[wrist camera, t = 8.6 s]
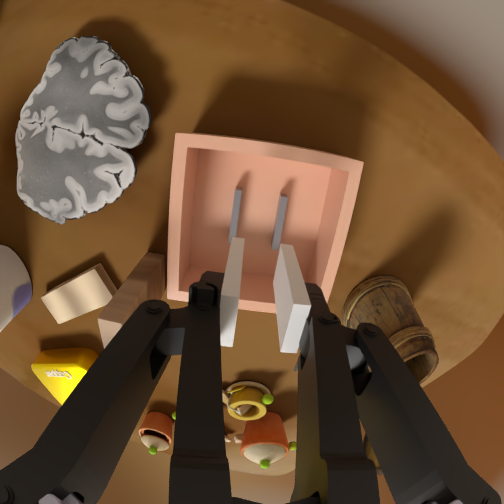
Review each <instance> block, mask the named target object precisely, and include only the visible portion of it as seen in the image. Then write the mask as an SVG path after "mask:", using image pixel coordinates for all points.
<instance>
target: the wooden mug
mask: <svg viewBox="0 0 504 504" xmlns="http://www.w3.org/2000/svg"><path fill="white" fill-rule="evenodd" d="M342 321H343V324H344V326H345V327H349V328H352V329H357V326H358V325H359V324H360V323H364V322H366V323H372V324H375V325H376V326H378V327H379V328H380V329H381V330H382V331H383V332H384V333H385V335H386V336H387V338H388V339H389V340H390V342H391V343H392V345H393V346H394V348H395V349H396V350H397V352H398V353H399V355H400V356H401V358H402V359H403V361H404V362H405V364H406V365H407V367H408V368H409V370H410V371H411V372H412V374H413V375H414V377H415V379H416V380H417V382H418V383H419V385H420V384H421V383H422V382H424V381H425V380H426V379H427V378H428V377H429V376H430V375H431V374H432V373H433V371H434V370H435V368H436V366H437V365H438V361H439V358H438V354H437V352H436V346H435V342H434V339H433V337H432V334H431V332H430V331H429V329H428V328H427V327H424V325H423V323H422V321H421V319H420V317H419V315H418V313H417V311H416V309H415V307H414V305H413V303H412V299H411V296H410V294H409V291H408V289H407V287H406V286H405V285H404V283H403V282H402V281H400V280H399V279H397V278H396V277H392V276H388V275H386V276H377V277H373V278H370V279H368V280H366V281H364V282H362V283H360V284H359V285H358V286H357V287H356V288H354V289H353V290H352V292H351V293H350V294H349V296H348V297H347V300H346V302H345V304H344V307H343V312H342ZM369 371H370V372H371V368H370V366H369ZM363 449H364V455H365V457H366V459H371V460H372V461H373V462H374V463H375V467H376V472H377V474H379V475H382V474H383V472H382V470H381V467H380V465H379V463H378V460H377V458H376V456H375V453H374V451H373V448H372V446H371V444H370V441H369V439H368V437H367V435H366V433H365V436H364V440H363Z"/></svg>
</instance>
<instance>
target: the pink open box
mask: <svg viewBox="0 0 504 504" xmlns="http://www.w3.org/2000/svg"><path fill="white" fill-rule="evenodd" d="M363 163H364V162H362V161H359V160H356V159H353V158H349V157H346V156H343V155H339V154H335V153H330V152H325V151H321V150H316V149H311V148H305V147H300V146H295V145H289V144H283V143H277V142H271V141H264V140H257V139H250V138H242V137H234V136H226V135H216V134H205V133H193V132H189V133H176V134H175V143H174V153H173V164H172V176H171V189H170V205H169V226H168V263H167V299H172V300H179V301H185V302H188V299H189V287H190V285H191V284H192V283H194V282H198V281H200V278H201V275H202V274H203V273H205V272H206V271H214V272H221V273H225V270H226V265H227V260H228V255H229V250H230V245H231V240H232V237H236V238H244V239H245V240H244V251H243V263H242V274H241V285H240V297H239V304H238V309H243V310H251V311H260V312H269V313H276V304H275V295H274V286H273V280H274V275H275V270H276V265H277V260H278V255H279V250H280V244H287V245H293V248H294V251H295V254H296V257H297V260H298V263H299V267H300V270H301V273H302V276H303V280H304V282H306V283H315V284H317V285H318V286H319V287H320V288H321V289H322V292H323V294H324V295H323V296H324V297H325V300H326V302H328V299H329V296H330V293H331V289H332V286H333V283H334V280H335V276H336V273H337V269H338V266H339V262H340V259H341V255H342V252H343V248H344V244H345V241H346V237H347V233H348V229H349V225H350V221H351V217H352V213H353V209H354V205H355V200H356V196H357V192H358V187H359V182H360V178H361V173H362V168H363Z"/></svg>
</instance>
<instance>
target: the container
mask: <svg viewBox="0 0 504 504" xmlns="http://www.w3.org/2000/svg"><path fill="white" fill-rule="evenodd" d="M31 297H32V285H31V280H30V277H29V274H28V272H27V270H26V268H25V266H24V264H23V262H22V261H21V259H20V258H19V257H18V255H17V254H16V253H15V252H14V251H13V250H12V249H10V248H9V247H7V246H4V245H0V332H1V331H2V330H3V328H4V327H5V326H6V325H7V324H8V323H9V322H10V321H11V320H12V319H13V318H14V317H15V316H16V315H17V314H18V312H19V311H20V310H21V309H22V308H23V307H24V306H25V305H26V304H27V303H28V302H29V301H30V299H31Z"/></svg>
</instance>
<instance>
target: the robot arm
mask: <svg viewBox="0 0 504 504" xmlns="http://www.w3.org/2000/svg"><path fill="white" fill-rule="evenodd" d="M244 240H245V239H244V238H236V237H232V240H231V245H230V250H229V255H228V260H227V265H226V270H225V273H221V272H214V271H206V272H205V273H203V274H202V275H201V278H200V281H198V282H194V283H192V284H191V285H190V287H189V299H188V306H186V307H184V308H179V309H170V307H169V305H168V304H167V303H166V302H164V301H162V300H156V299H152V300H147V301H144V302H143V303H141V304H140V305H139V306H138V308H137V309H136V310H135V311H134V312H133V314H132V315H131V316H130V317H129V318H128V320H127V321H126V322H125V323H124V325H123V326H122V327H121V328H120V330H119V331H118V332H117V333H116V335H115V336H114V337H113V338H112V340H111V341H110V342H109V343H108V345H107V346H106V347H105V349H104V350H103V351H102V352H101V354H100V355H99V356H98V358H97V359H96V360H95V362H94V363H93V364H92V365H91V367H90V368H89V369H88V371H87V372H86V373H85V375H84V376H83V377H82V379H81V380H80V381H79V383H78V384H77V385H76V387H75V388H74V390H73V391H72V392H71V394H70V395H69V396H68V398H67V399H66V401H65V402H64V403H63V405H62V406H61V408H60V409H59V410H58V412H57V413H56V415H55V416H54V417H53V419H52V420H51V422H50V423H49V425H48V426H47V428H46V429H45V431H44V432H43V434H42V435H41V437H40V438H39V440H38V441H37V443H36V444H35V446H34V447H33V448H32V449H31V450H29V451H28V452H27V453H25V454H24V455H22V456H21V457H19V458H18V459H16V460H15V461H14V462H12V463H11V464H9V465H8V466H6V467H5V468H3V469H2V470H0V504H96V503H97V502H98V500H99V499H100V497H101V496H102V494H103V492H104V490H105V488H106V487H107V484H108V482H109V480H110V478H111V476H112V474H113V472H114V470H115V468H116V466H117V463H118V461H119V459H120V457H121V455H122V453H123V451H124V449H125V447H126V445H127V443H128V441H129V439H130V437H131V435H132V433H133V431H134V429H135V427H136V425H137V423H138V421H139V419H140V417H141V415H142V413H143V411H144V409H145V407H146V405H147V403H148V401H149V399H150V397H151V395H152V393H153V391H154V389H155V387H156V385H157V383H158V381H159V380H160V378H161V376H162V374H163V372H164V370H165V368H166V366H167V364H168V362H169V360H170V358H171V355H180V354H182V357H181V366H180V375H179V385H178V395H177V406H176V418H175V431H174V446H173V454H172V456H171V462H170V478H169V504H261V503H257V502H252V501H249V500H244V499H241V498H236V497H232V496H231V485H230V472H229V463H228V459H227V457H226V449H225V433H224V415H223V395H222V371H221V346H228V347H233V340H234V332H235V325H236V318H237V311H238V304H239V297H240V285H241V274H242V263H243V251H244ZM273 286H274V295H275V304H276V314H277V323H278V332H279V342H280V352H287V353H297V350H298V347H299V345H300V351H301V352H300V355H299V358H298V361H297V363H296V366H295V369H294V371H297V368H298V410H297V446H296V469H295V486H294V490H293V493H292V496H291V500H290V503H286V504H380V498H379V489H378V480H377V472H376V467H375V463H374V462H373V461H372V460H371V459H366V457H365V455H364V449H363V442H362V434H361V427H360V421H361V423H362V425H363V428H364V430H365V432H366V435H367V437H368V439H369V441H370V444H371V446H372V448H373V451H374V453H375V456H376V458H377V460H378V463H379V465H380V467H381V470H382V472H383V475H384V477H385V479H386V482H387V484H388V487H389V489H390V492H391V494H392V496H393V499H394V501H395V503H396V504H501V498H500V496H499V494H498V493H497V492H496V491H495V490H494V489H493V488H492V487H491V486H490V485H489V484H488V483H486V481H484V480H483V479H482V478H481V477H480V476H479V475H478V474H477V473H476V472H475V471H474V470H473V469H472V468H471V467H469V466H468V464H467V462H466V461H465V459H464V457H463V455H462V453H461V451H460V450H459V448H458V446H457V445H456V443H455V441H454V439H453V438H452V436H451V434H450V433H449V431H448V430H447V428H446V426H445V424H444V423H443V421H442V419H441V418H440V416H439V414H438V413H437V411H436V410H435V408H434V406H433V405H432V403H431V402H430V400H429V399H428V397H427V396H426V394H425V392H424V391H423V389H422V388H421V386H420V385H419V383H418V382H417V380H416V379H415V377H414V375H413V374H412V372H411V371H410V370H409V368H408V367H407V365H406V364H405V362H404V361H403V359H402V358H401V356H400V355H399V353H398V352H397V350H396V349H395V348H394V346H393V345H392V343H391V342H390V340H389V339H388V338H387V336H386V335H385V333H384V332H383V331H382V330H381V329H380V328H379V327H378V326H376V325H375V324H372V323H366V322H364V323H360V324H359V325H358V326H357V329H352V328H349V327H345V326H343V325H341V321H340V319H339V318H338V317H337V316H336V315H335V314H333V313H331V312H330V310H329V308H328V305H327V302H326V300H325V297H324V296H323V295H324V294H323V292H322V289H321V288H320V287H319V286H318V285H317V284H315V283H306V282H304V280H303V276H302V273H301V270H300V267H299V263H298V260H297V257H296V254H295V251H294V248H293V245H287V244H280V250H279V255H278V260H277V265H276V270H275V275H274V280H273ZM369 366H370V368H371V372H370V371H369V369H368V367H369ZM359 419H360V421H359Z"/></svg>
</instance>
